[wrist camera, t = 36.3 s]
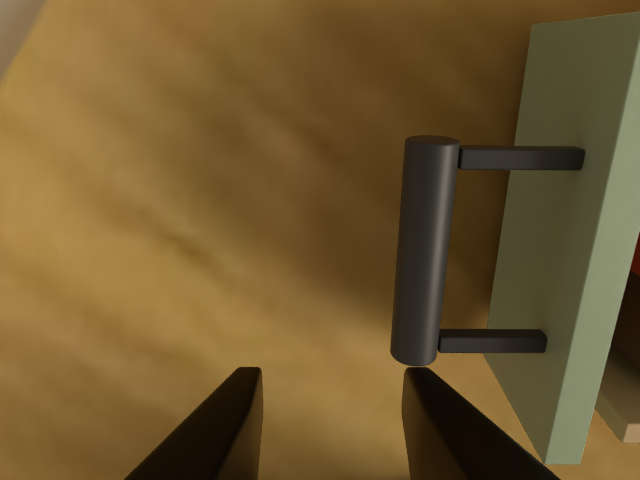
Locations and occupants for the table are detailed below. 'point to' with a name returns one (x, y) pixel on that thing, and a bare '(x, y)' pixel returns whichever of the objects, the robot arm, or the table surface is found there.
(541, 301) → the drawer
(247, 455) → the robot arm
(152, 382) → the table surface
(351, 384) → the table surface
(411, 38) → the table surface
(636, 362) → the chocolate bar
